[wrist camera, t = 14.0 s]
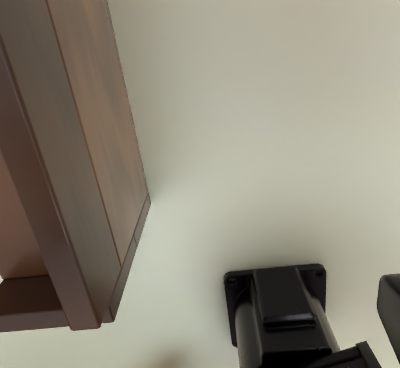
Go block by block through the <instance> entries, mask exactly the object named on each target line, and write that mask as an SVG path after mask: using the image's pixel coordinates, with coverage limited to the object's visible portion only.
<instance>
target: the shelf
mask: <svg viewBox="0 0 400 368" xmlns="http://www.w3.org/2000/svg"><path fill="white" fill-rule="evenodd" d="M150 204H151V202H150V198H149V193H148V189H147V184H146V180H145V175H144V170H143V166H142V161H141V157H140V152H139V147H138V143H137V138H136V133H135V129H134V124H133V119H132V115H131V110H130V105H129V101H128V96H127V92H126V87H125V82H124V78H123V73H122V68H121V64H120V59H119V54H118V50H117V45H116V41H115V36H114V31H113V27H112V22H111V17H110V13H109V8H108V3H107V0H0V275H1V277H2V279H4V280H3V281H2V282H1V284H0V332H10V331H21V330H33V329H44V328H55V327H66V326H69V327H70V329H71V330H73V331H76V330H87V329H98V328H100V327H101V324H102V323H111V322H114V320H115V317H116V314H117V310H118V307H119V304H120V301H121V298H122V294H123V291H124V288H125V285H126V281H127V278H128V275H129V272H130V268H131V265H132V262H133V259H134V256H135V252H136V249H137V246H138V243H139V240H140V237H141V233H142V230H143V227H144V224H145V221H146V217H147V214H148V211H149V208H150Z"/></svg>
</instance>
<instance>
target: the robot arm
mask: <svg viewBox="0 0 400 368" xmlns="http://www.w3.org/2000/svg"><path fill="white" fill-rule="evenodd" d="M316 271H320V272H318V273H315V272H316ZM230 279H234V281H229V280H230ZM224 285H225V293H226V301H227V309H228V316H229V324H230V332H231V340H232V345H233V346H234V347H237V348H238V355H239V364H240V368H382V367H381V366H380V364H379V362H378V361H377V359H376V357H375V355H374V354H373V352H372V350H371V348H370V347H369V345H368V343H367V341H364V342H360V343H357V344H356V346H354V347H351V348H348V349H345V350H341V351H340V348H339V346H338V344H337V341H336V339H335V337H334V334H333V332H332V330H331V327H330V325H329V323H328V320H327V318H326V316H325V303H326V270H325V268H324V266H323V265H321V264H307V265H297V266H286V267H276V268H266V269H255V270H245V271H235V272H228V273H227V274H225V276H224ZM377 310H378V314H379V317H380V319H381V321H382V324H383V326H384V328H385V331H386V333H387V335H388V338H389V340H390V342H391V345H392V347H393V349H394V352H395V354H396V356H397V359H398V361H399V363H400V274H389V275H383V276H382V277H381V278H380V281H379V289H378V298H377Z"/></svg>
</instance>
